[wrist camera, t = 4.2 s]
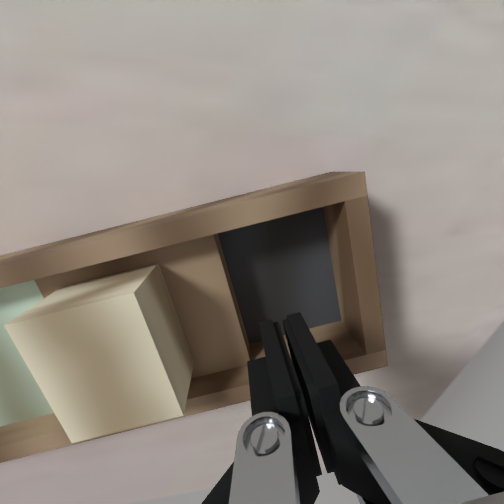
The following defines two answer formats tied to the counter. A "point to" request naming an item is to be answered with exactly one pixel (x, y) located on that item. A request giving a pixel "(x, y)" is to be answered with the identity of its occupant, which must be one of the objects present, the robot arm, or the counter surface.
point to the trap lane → (213, 290)
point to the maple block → (107, 353)
